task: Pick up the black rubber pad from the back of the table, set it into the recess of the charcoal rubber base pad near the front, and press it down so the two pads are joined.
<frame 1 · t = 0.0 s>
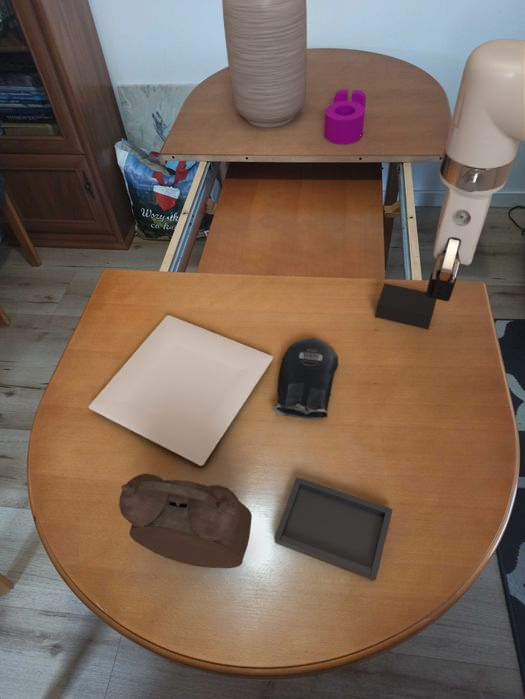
hand: (443, 274, 71), 18 cm above the table, tool pointing down, fingers open, 9 cm apart
plate: (185, 388, 84), on the table
pad: (404, 312, 90), on the table
alarm clock: (203, 543, 68), on the table
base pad: (333, 528, 67), on the table
electronic device: (307, 381, 83), on the table
magenta ring with prongs: (344, 129, 131), on the table
vase: (270, 115, 139), on the table
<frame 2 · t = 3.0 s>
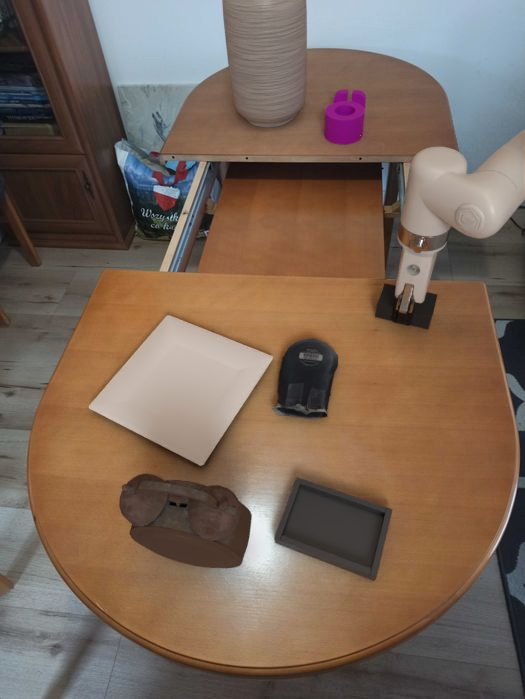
hand: (405, 309, 90), 1 cm above the table, tool pointing down, fingers closed on pad, 5 cm apart
pad: (404, 312, 90), on the table, touching gripper
everything else where it was.
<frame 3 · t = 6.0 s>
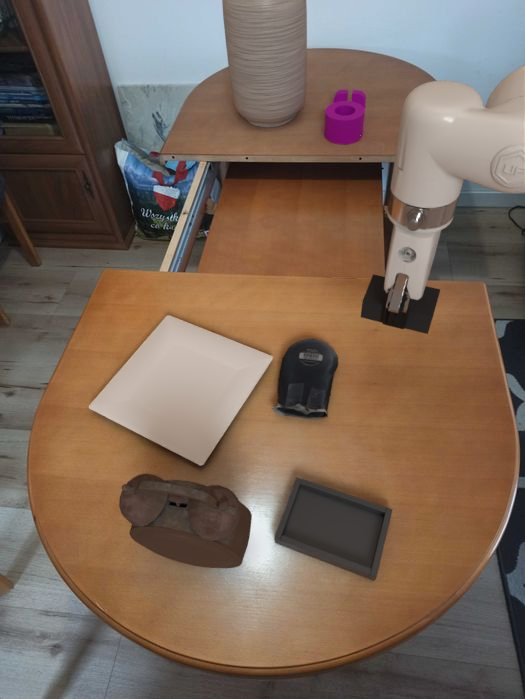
hand: (398, 308, 71), 15 cm above the table, tool pointing down, fingers closed on pad, 5 cm apart
pad: (397, 311, 71), point 15 cm above the table, touching gripper
everything else where it was.
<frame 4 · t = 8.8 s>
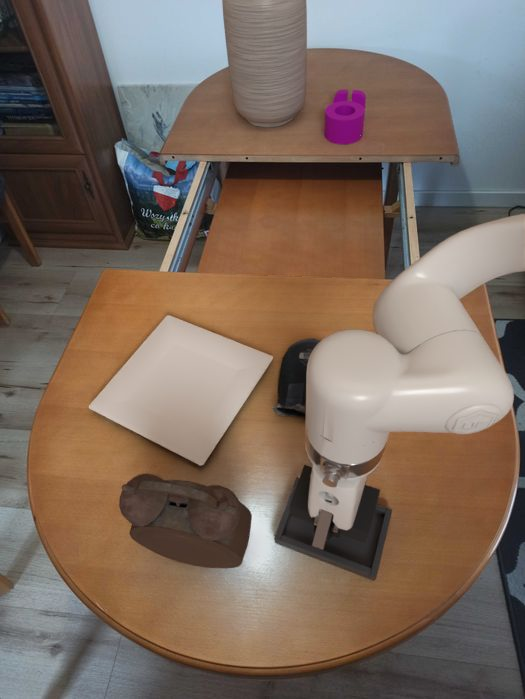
hand: (334, 506, 61), 8 cm above the table, tool pointing down, fingers closed on pad, 5 cm apart
pad: (333, 508, 61), point 8 cm above the table, touching gripper
everything else where it was.
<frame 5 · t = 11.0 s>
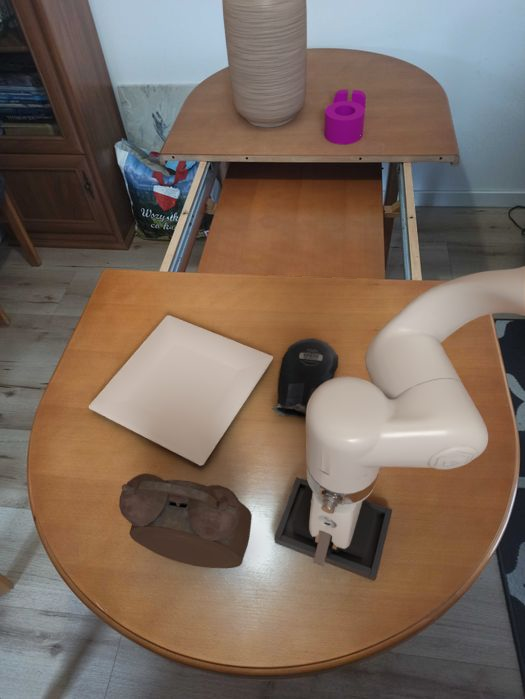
hand: (334, 523, 66), 2 cm above the table, tool pointing down, fingers closed on pad, 5 cm apart
pad: (333, 525, 67), point 1 cm above the table, touching gripper
everything else where it was.
when the fingers open (2 cm above the table, at t = 14.4 s): pad stays where it is, resting on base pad.
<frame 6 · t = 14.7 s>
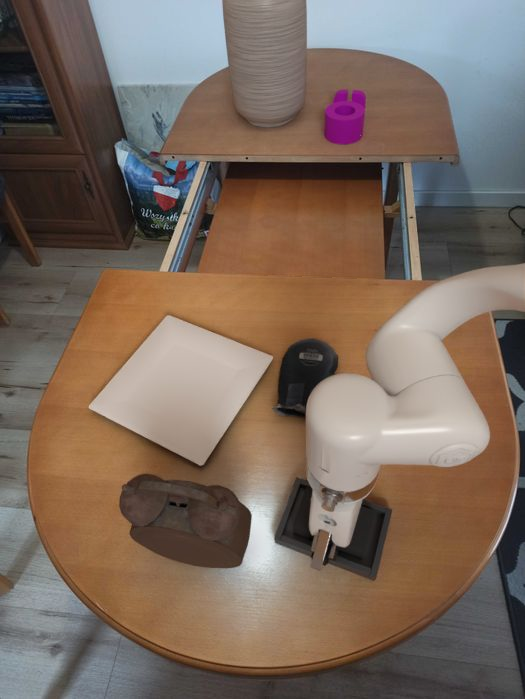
hand: (334, 521, 65), 3 cm above the table, tool pointing down, fingers open, 8 cm apart
pad: (333, 526, 67), point 1 cm above the table, touching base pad
everything else where it was.
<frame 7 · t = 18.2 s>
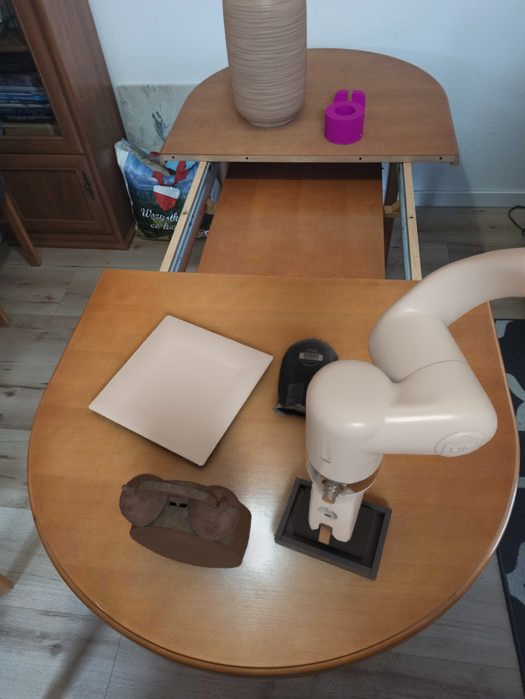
hand: (334, 518, 64), 4 cm above the table, tool pointing down, fingers closed
pad: (333, 526, 67), point 1 cm above the table, touching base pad, gripper
everything else where it was.
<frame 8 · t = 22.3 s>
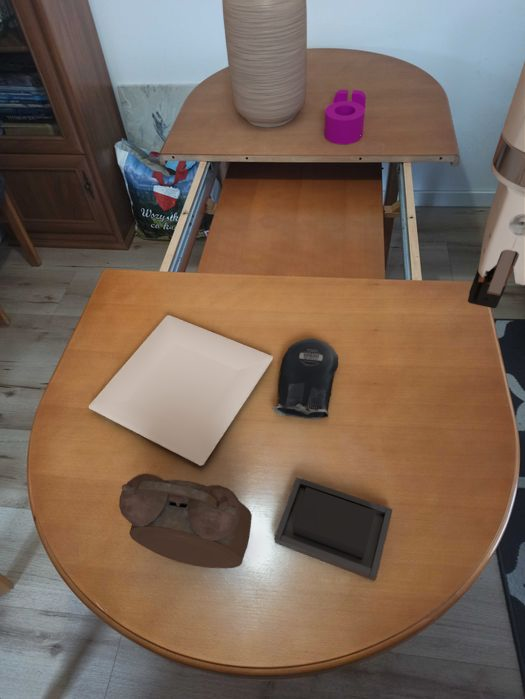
hand: (482, 300, 58), 25 cm above the table, tool pointing down, fingers closed
pad: (333, 526, 67), point 1 cm above the table, touching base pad
everything else where it was.
at the end: pad 0.0 cm off-centre in the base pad, point 0.6 cm above the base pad's base; pad tilted 0°; the gripper is holding nothing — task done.
